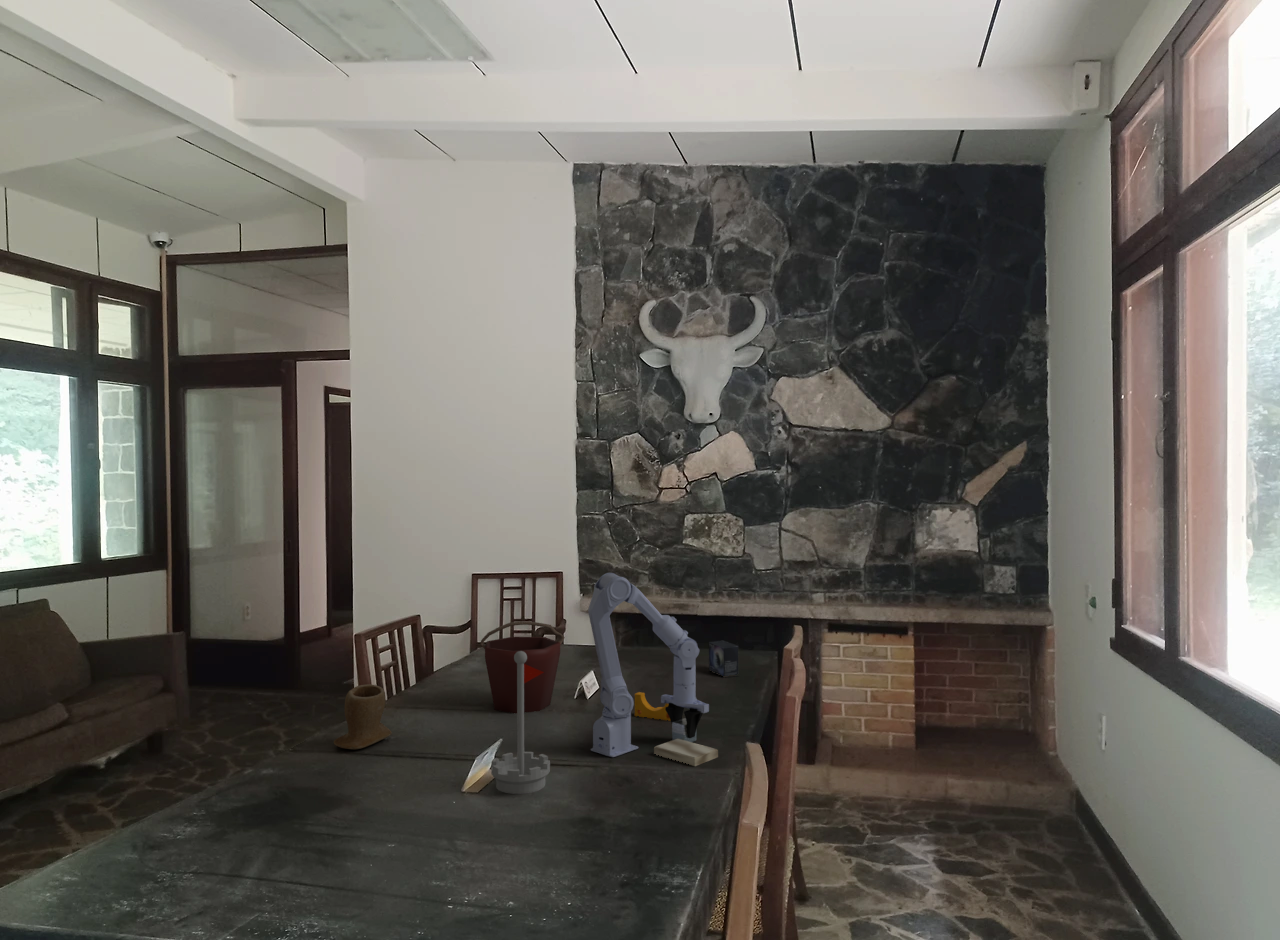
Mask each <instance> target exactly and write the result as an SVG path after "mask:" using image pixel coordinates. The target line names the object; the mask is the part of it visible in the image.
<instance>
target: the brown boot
mask: <svg viewBox="0 0 1280 940" xmlns="http://www.w3.org/2000/svg"><path fill="white" fill-rule="evenodd" d="M385 706H386V691H385V690H384V688H383V687H381V686H379V685H376V684H370V683H368V684H361V685H357V686H355V687H353V688H351V689H350V690H349V691H348V692H347V693H346V695H345V699H344V707H343V708H344V717H345V721H346V724H347V729H348V730H347V733H345V734H344V735H341V736H339V737H337V738H335V740H333V744H334V745H335V746H336V747H338V748H341V749H346V750H359V749H364V748H367V747H369V746H371V745H374V744H376V743H378V742H380V741H382V740H384V739H386V738H388V737H390V736H392V735H393V733H392V732H393V731H391V729H389V728H388V727H387V726H386V725H384V723H382V722H381V720H382V716H383V713H384V711H385Z"/></svg>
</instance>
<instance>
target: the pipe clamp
mask: <svg viewBox="0 0 1280 940" xmlns="http://www.w3.org/2000/svg"><path fill="white" fill-rule="evenodd" d="M645 695H646V693H645V692H642V691H641V692H640V691H638V692H636V693H634V717H637V716H639V718H644V717H647V718H646V719H652V718H654V719H653V720H659V719H661V720H660V721H667V720H668V721H669V722H671V720H670V718H669V715H668V714H667V712H666V710H665V708H666V707H668V705H669V704H668V703H664V706H658V707H653V706H652V705H651V704H650V703H649V702H648V701H647V699H646V696H645Z"/></svg>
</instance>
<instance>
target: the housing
mask: <svg viewBox="0 0 1280 940" xmlns="http://www.w3.org/2000/svg"><path fill="white" fill-rule="evenodd" d="M697 730H698V728H697V729H696V733H695V737H692V738H688V735H687V722H686V717H685V718H683V717H682V719H680V720H677V721H674V722H672V723H671V733H672V735H671V737H672V740H675V739H681V740H685V741H689V742H692V743H694V742H696V741H697ZM672 740H671V741H672Z"/></svg>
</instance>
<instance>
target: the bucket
mask: <svg viewBox="0 0 1280 940" xmlns="http://www.w3.org/2000/svg"><path fill="white" fill-rule="evenodd" d="M523 625H524V626H527V625H528V626H536V627H541V628H546V629H548V630H549V631H550V632H551V633H552V634H553V636H556V639H551V638H548V637H545V636H509V637H504V638H498V639H492V640H488V639H489V637H490V636H492V635H494V634H496V633H498V632H499V631H502V630H504V629H507V628H509V627H511V626H513V627H514V626H523ZM565 637H566V636H564V635H563V634H562V633H560V632H558V631H557V630H556V629H555V628H554V626H552V624H548V623H542V622H536V621H513V622H508V623H505V624H503V625H501V626H497V627H496V628H494V629H493V630H491V631H489V632H487V633H486V634H485V636H483V638H481V640H480V643H479V644H480V646H481V647H482V648H483V649H484V660H485V661H484V662H485V664H486V671H487V675H488V681H489V686H490V691H491V696H492V697H491V698H492V702H493V708H494V711H499V712H503V713H509V712H510V713H509V714H514V713H515V714H517V663H516V662H515V660H514V655H515V654H516V653H517V652H518V651H523V652H525V653H526V655H527V660H526V662H525V663H524V664H526V665H528V666H530V667H533V668H535V669H537V670H540V671H542V672H544V673H542V674H540V675H538V676H537V677H535V678H533V679H531V680H530V681H528V682H526V683H524V714H525V712H526V713H533V712H534V711H536V712H541V711H542V710H544V709H546V708H548V707H549V706H550V705H551V702H552V697H553V693H554V688H555V682H556V678H557V671H558V666H559V661H560V656H561V645H562V643H563V642H564V640H565ZM486 640H487V641H486ZM484 642H485V643H484ZM548 705H549V706H548ZM545 707H546V708H545ZM540 710H541V711H540Z"/></svg>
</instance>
